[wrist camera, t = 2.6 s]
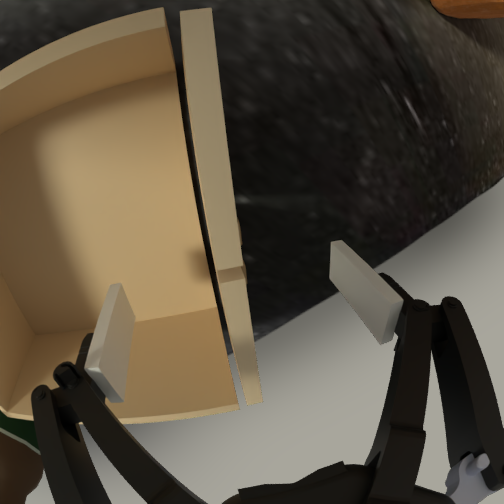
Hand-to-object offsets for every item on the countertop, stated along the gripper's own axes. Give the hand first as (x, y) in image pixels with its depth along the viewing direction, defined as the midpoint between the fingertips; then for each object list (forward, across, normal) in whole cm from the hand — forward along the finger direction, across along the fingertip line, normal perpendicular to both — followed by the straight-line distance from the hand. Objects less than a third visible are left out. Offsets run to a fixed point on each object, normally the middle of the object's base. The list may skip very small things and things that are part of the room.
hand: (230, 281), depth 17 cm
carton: (+5, -11, +4) cm, 13 cm away
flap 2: (+5, 0, -1) cm, 5 cm away
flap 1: (+5, 0, +9) cm, 10 cm away
